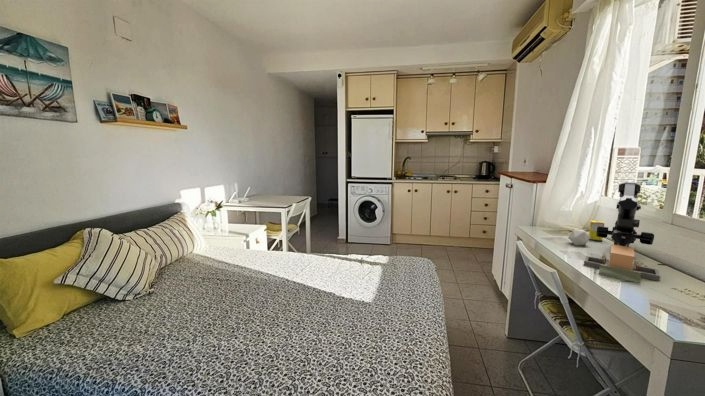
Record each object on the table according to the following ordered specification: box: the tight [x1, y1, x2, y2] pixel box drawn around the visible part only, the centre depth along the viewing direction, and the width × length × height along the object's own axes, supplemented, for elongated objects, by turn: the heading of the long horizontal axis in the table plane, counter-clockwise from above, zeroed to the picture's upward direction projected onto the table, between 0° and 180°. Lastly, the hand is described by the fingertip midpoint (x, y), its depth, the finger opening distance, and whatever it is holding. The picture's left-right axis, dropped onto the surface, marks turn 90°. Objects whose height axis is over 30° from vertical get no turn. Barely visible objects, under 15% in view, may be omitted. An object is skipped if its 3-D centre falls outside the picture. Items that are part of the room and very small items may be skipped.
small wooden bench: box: [598, 252, 642, 284], centre depth 123 cm, size 27×12×4 cm, turn 136°
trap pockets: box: [583, 255, 661, 282], centre depth 122 cm, size 9×23×2 cm, turn 46°
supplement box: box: [588, 219, 605, 243], centre depth 164 cm, size 6×6×11 cm
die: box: [567, 229, 590, 246], centre depth 156 cm, size 8×9×10 cm
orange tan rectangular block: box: [608, 243, 635, 270], centre depth 121 cm, size 15×7×9 cm, turn 136°
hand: (621, 250), depth 126 cm, fingers closed, pressing on orange tan rectangular block
